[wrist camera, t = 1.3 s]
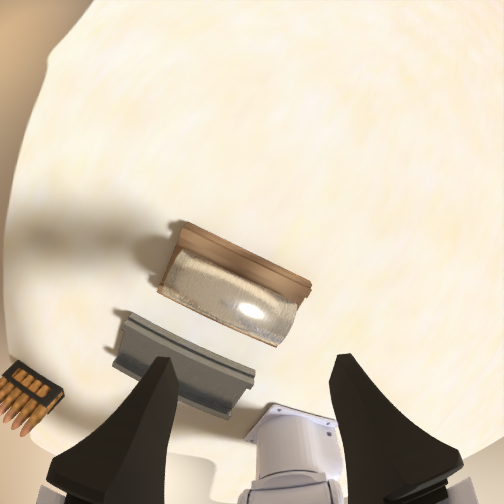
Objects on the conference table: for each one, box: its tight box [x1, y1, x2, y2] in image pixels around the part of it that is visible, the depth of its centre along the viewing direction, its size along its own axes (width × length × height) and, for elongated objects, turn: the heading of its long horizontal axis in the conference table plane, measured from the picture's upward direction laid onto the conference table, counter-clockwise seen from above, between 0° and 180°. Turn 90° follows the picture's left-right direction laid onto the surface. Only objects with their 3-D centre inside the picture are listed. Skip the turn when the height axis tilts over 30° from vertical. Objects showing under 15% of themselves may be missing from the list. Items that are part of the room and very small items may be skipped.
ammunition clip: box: [0, 360, 65, 437], centre depth 24 cm, size 11×2×12 cm, turn 75°
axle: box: [162, 249, 297, 346], centre depth 22 cm, size 10×4×4 cm, turn 64°
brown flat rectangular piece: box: [157, 222, 312, 347], centre depth 24 cm, size 12×7×2 cm, turn 64°
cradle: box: [112, 313, 255, 420], centre depth 26 cm, size 14×7×2 cm, turn 64°
